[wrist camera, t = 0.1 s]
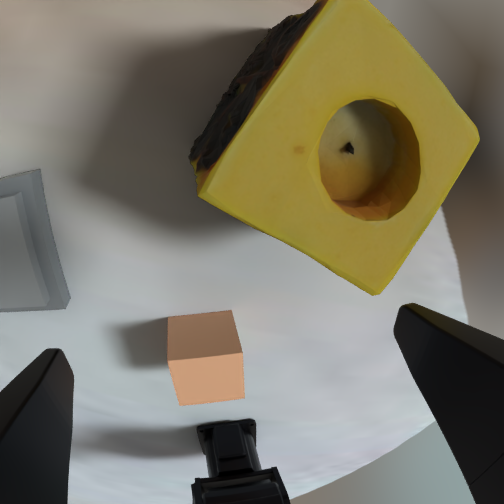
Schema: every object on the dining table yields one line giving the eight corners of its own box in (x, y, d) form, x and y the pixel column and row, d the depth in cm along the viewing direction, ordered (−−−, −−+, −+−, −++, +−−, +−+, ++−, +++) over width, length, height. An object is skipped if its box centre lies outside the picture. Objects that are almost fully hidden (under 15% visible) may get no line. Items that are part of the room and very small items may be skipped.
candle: (271, 25, 16) (342, -29, 8) (382, 114, 20) (487, 133, 11) (184, 153, 19) (183, 193, 10) (307, 225, 23) (379, 301, 14)
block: (234, 355, 27) (244, 398, 23) (177, 361, 26) (179, 405, 22) (231, 309, 25) (242, 352, 20) (168, 316, 24) (167, 361, 19)
